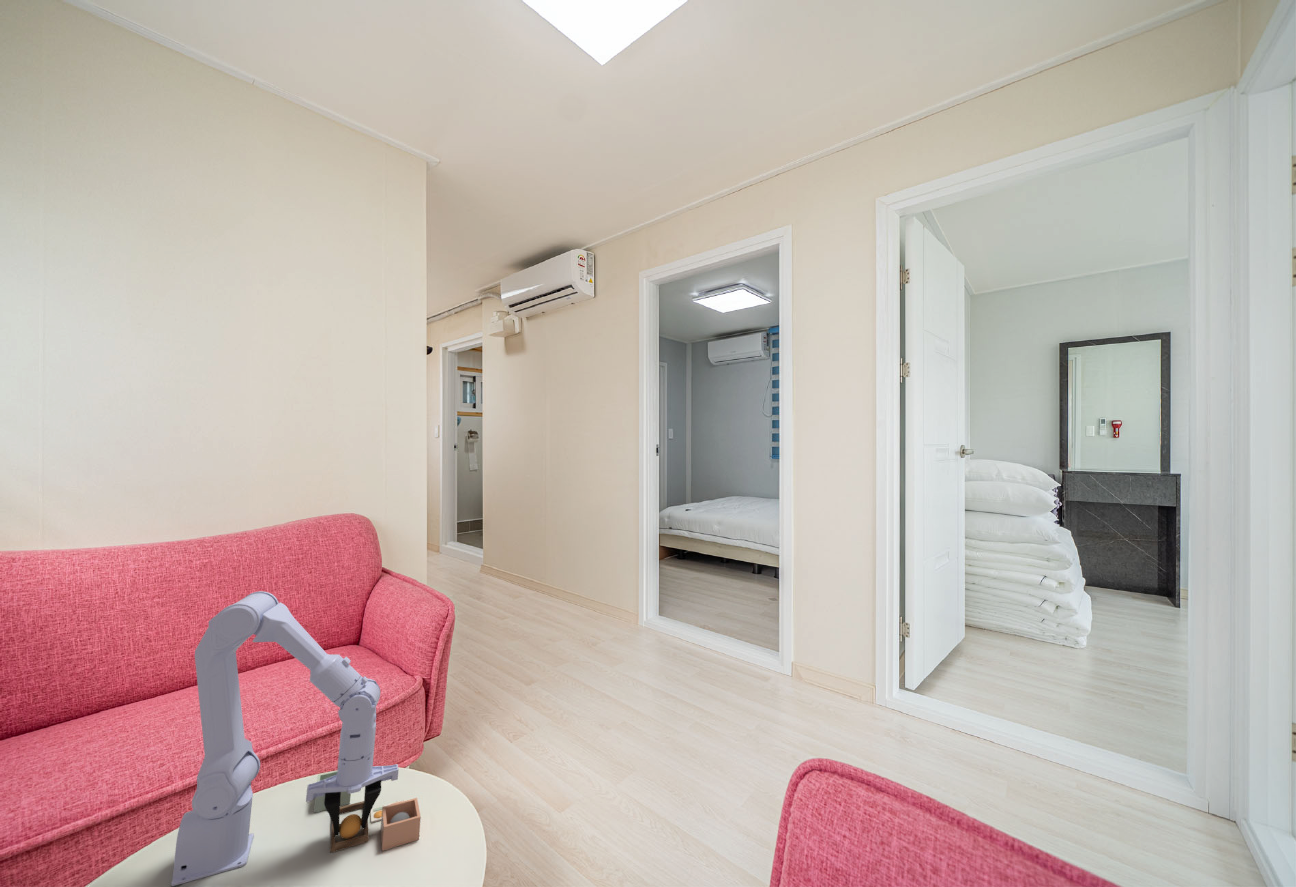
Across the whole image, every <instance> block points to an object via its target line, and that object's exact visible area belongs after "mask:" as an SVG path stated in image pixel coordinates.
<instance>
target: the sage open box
mask: <svg viewBox="0 0 1296 887" xmlns="http://www.w3.org/2000/svg"><path fill="white" fill-rule="evenodd" d="M334 775H337V770H333V771H328V772H324V773H319V774H317V779H316V782H319V781H321V780H324V779H327V778H329V777H332V776H334ZM351 794H352V793H351ZM351 794H348V791H345V792H341V799H340V807H342V806H346V805H350V804H351ZM324 801H325V795H324V796H320V797H316V798H314V809H313V813H314V814H315V813H318V812H323V811H327V810H326V808H325V805H324Z"/></svg>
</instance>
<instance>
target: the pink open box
mask: <svg viewBox="0 0 1296 887" xmlns="http://www.w3.org/2000/svg"><path fill="white" fill-rule="evenodd" d="M398 802H399V801H398ZM394 803H395V802H394ZM400 812H405V813H407V814H408V815H409V816H410V818H409V819H405V820H402V821H398V822H394V823H391V824H390V821H391V819H392V818H393V817H394V816H395V815H396V814H398V813H400ZM421 820H422V817H421V812H420V806H419V801H418V797H415V798H412V799H411V798H410V799H406V800H404V801H403V802H399V803H395V804H392V805H388V806H384V807H382V817H381V821H380V840H381V841H380V842H381V850H382V852H383V851H385V850H386V851H387V850H389V849H392V848H396V847H399V846H402V845H406V844H409V843H412V842H415V841H419V840H420V832H421Z"/></svg>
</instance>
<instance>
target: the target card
mask: <svg viewBox="0 0 1296 887" xmlns="http://www.w3.org/2000/svg"><path fill="white" fill-rule="evenodd" d="M403 801H405V800H404V799H403V800H399V801H395V802H391V803H387V804H385V805H380V806H376V807H372V809H371V812H370V814H369V815H370V823H371V824H373V823H377V822H381V817H382V807H384V806H388V805H392V804H395V803H399V802H403Z"/></svg>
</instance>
